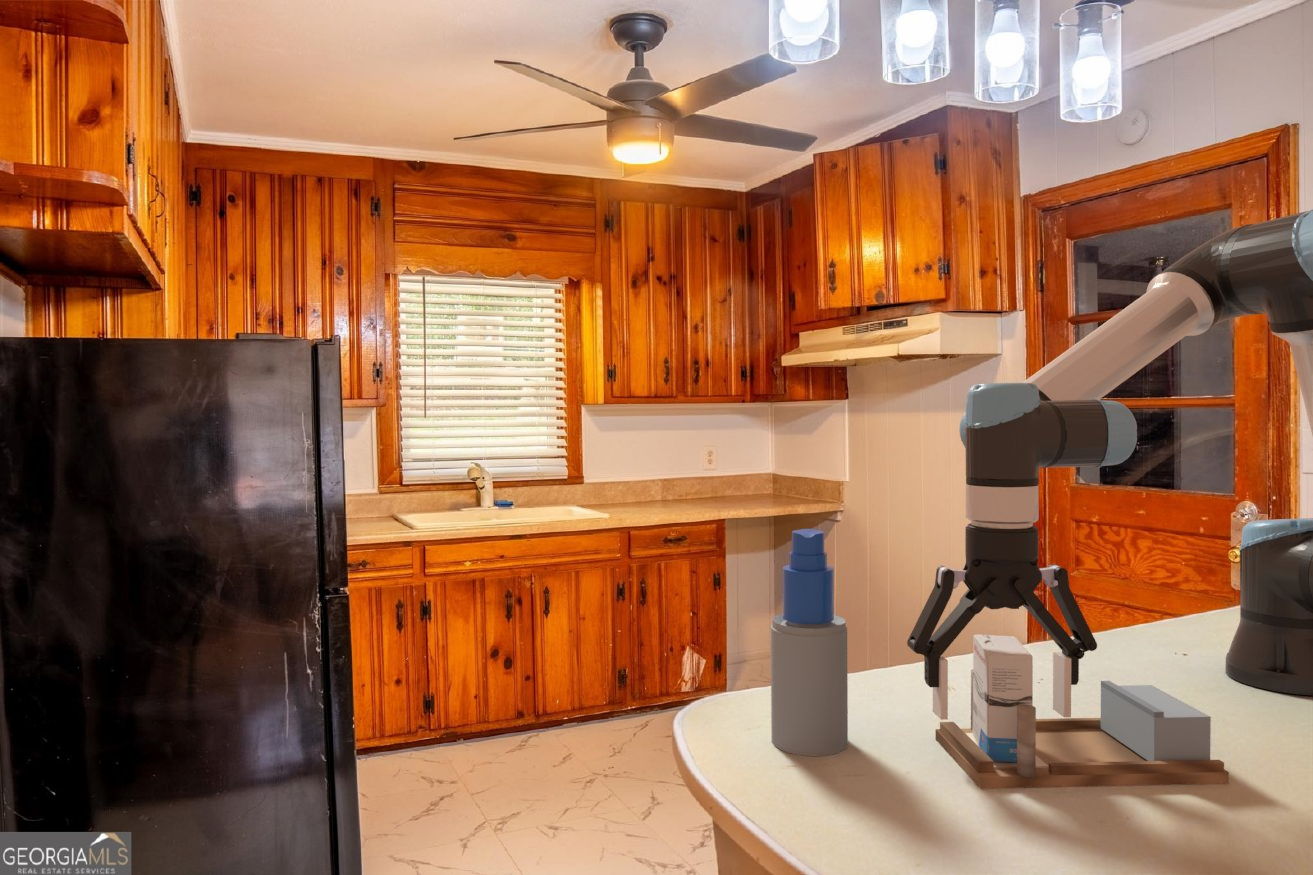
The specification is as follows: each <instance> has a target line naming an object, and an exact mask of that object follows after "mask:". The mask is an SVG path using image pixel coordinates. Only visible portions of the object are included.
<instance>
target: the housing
mask: <svg viewBox="0 0 1313 875" xmlns="http://www.w3.org/2000/svg"><path fill="white" fill-rule="evenodd" d="M1100 718H1101V729H1103V730H1104V731H1105V732H1107V733H1108V734H1110V735H1111V736H1113V737H1114V738H1116V739H1117V740H1119V741H1120V742H1121V743H1123V744H1124V745H1126V746H1127V747H1129V748H1130V749H1132V750H1133V751H1135V752H1136V753H1137V754H1139V755H1140V756H1142V757H1143V758H1145V759H1146V760H1148V761H1176V760H1211V729H1212V728H1211V724H1212V722H1211V721H1212V720H1211V718H1212V717H1211V716H1210V715H1208V714H1207V713H1205V712H1202V711H1201V710H1199V709H1197V708H1195V707H1193V706H1191V705H1189V704H1188V703H1186V702H1184V701H1182V700H1180V699H1178V698H1177V697H1175V696H1172V695H1171V694H1169V693H1167V692H1165V691H1163V690H1162V689H1160V688H1157V687H1156V686H1154V685H1153V684H1133V685H1130V684H1129V685H1125V684H1124V685H1118V684H1115V683H1114V682H1112V681H1110V680H1100Z"/></svg>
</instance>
